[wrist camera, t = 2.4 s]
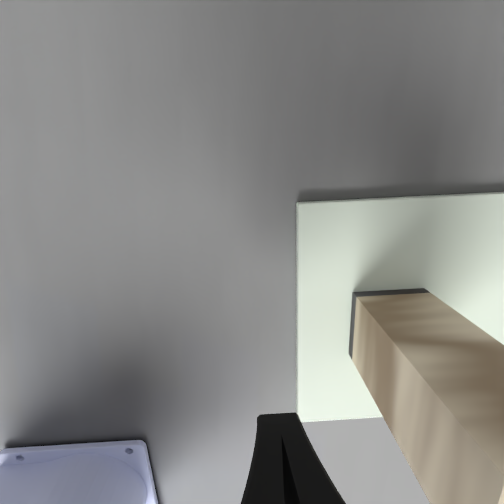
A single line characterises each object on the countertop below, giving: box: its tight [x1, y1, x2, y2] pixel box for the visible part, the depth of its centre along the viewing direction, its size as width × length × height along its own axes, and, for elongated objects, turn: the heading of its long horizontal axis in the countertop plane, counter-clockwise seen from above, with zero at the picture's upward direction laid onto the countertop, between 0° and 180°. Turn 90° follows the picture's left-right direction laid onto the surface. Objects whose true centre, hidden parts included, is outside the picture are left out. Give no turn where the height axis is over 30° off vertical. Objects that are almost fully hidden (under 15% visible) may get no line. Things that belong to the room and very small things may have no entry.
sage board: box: [296, 192, 504, 422], centre depth 17 cm, size 16×14×1 cm
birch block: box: [348, 288, 504, 504], centre depth 12 cm, size 4×4×10 cm
